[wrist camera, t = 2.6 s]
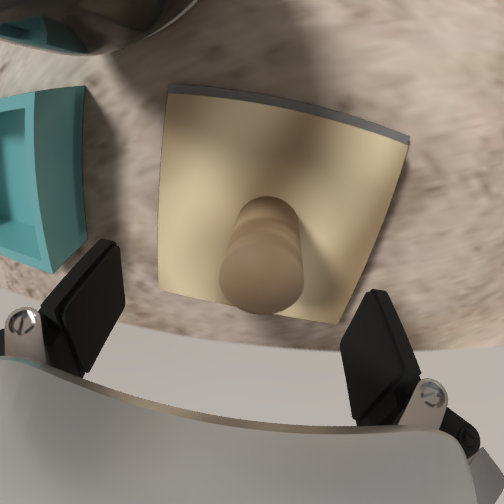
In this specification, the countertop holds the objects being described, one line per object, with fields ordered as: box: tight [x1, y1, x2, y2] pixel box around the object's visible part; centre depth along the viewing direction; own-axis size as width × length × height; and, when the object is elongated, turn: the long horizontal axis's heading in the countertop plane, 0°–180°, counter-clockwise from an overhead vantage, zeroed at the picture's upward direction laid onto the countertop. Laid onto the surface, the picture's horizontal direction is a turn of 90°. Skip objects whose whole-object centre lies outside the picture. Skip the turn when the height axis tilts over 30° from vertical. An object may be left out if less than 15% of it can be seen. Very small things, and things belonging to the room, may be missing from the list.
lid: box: [158, 93, 408, 324], centre depth 13 cm, size 12×12×6 cm
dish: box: [0, 86, 88, 274], centre depth 14 cm, size 11×11×4 cm
